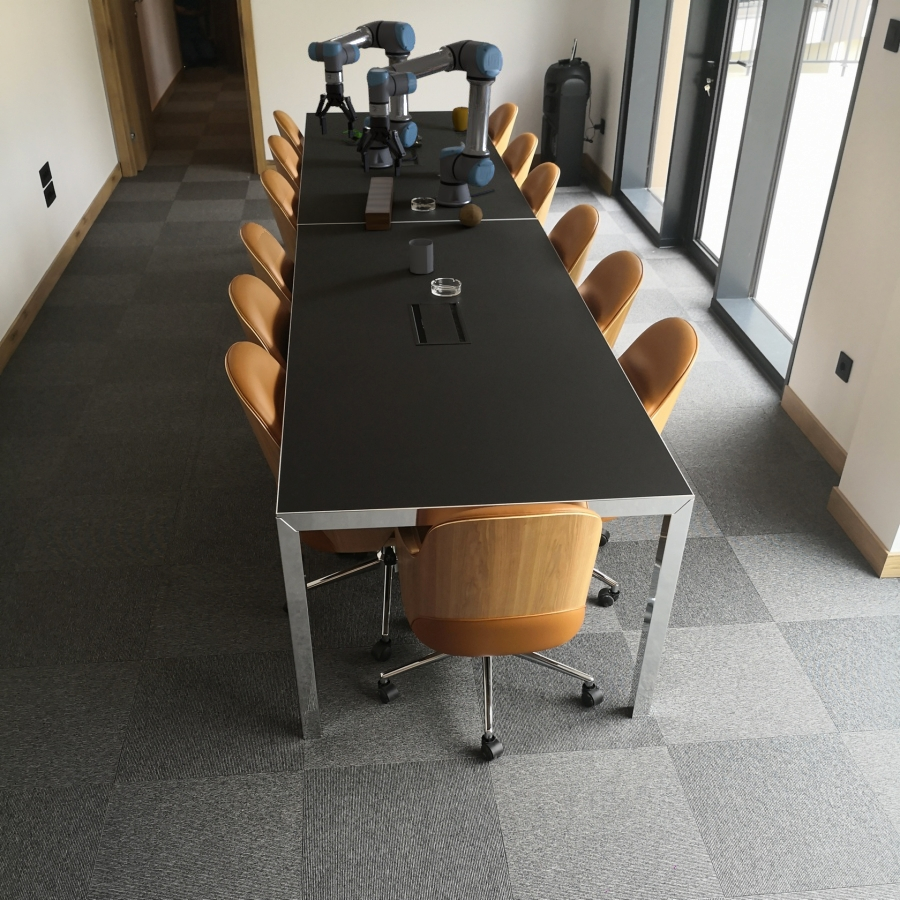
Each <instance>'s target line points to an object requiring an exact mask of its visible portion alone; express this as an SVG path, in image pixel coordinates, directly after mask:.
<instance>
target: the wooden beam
mask: <svg viewBox="0 0 900 900" xmlns="http://www.w3.org/2000/svg"><path fill="white" fill-rule="evenodd" d="M393 201H394V176H375V177H374V176H371V179H370V183H369V189H368V196H367V201H366V207H365V213H364V214H365V215H364V217H365V230H366V231H390V230H391V223H392V213H393V212H392V211H393V203H394V202H393Z"/></svg>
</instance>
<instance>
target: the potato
mask: <svg viewBox="0 0 900 900" xmlns="http://www.w3.org/2000/svg"><path fill="white" fill-rule="evenodd" d="M483 216H484V214H483V211H482V209H481V207H479V206H478V205H476V204H474V203H470V204H467V205H464V206H462V207H461V209H460V211H459V213H458V220H459V221H460V223H461V224H462V225H464V226H466V227H468V228H473V227H476V226H477V225H479V224H481V222H482V219H483Z"/></svg>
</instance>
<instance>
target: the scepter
mask: <svg viewBox="0 0 900 900" xmlns="http://www.w3.org/2000/svg"><path fill="white" fill-rule="evenodd" d="M354 132H355V133H354ZM345 133H348V129H347V130H345V131H342V134H345ZM362 134H363V132H362V131H360V130H359V129H355V128H354V130H353V137H352V138H350V140H352V141H355V142H351V141H347V140H345V139H341V141H342V142H344V143H346V144H348V145H354V146H355V145H357V146H358V144H359V142H360V139H361V136H362Z"/></svg>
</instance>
